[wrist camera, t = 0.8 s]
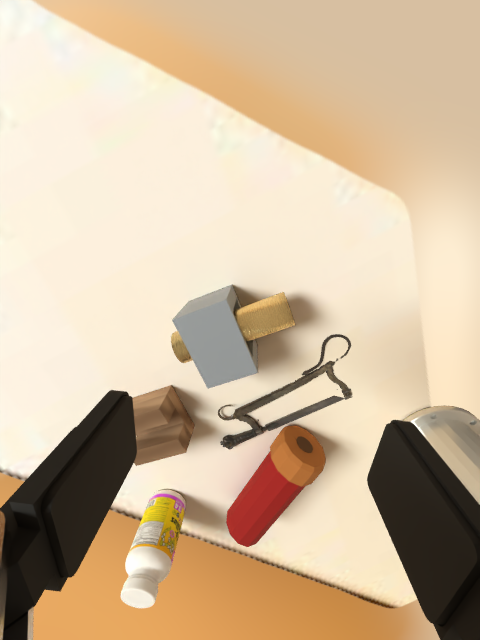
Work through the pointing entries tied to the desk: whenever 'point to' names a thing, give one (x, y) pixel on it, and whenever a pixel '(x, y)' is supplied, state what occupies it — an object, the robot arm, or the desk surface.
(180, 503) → the supplement bottle
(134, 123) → the desk surface
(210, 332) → the grey hollow block
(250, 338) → the axle
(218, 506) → the desk surface
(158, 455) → the v block
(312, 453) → the shell casing
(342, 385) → the hacksaw
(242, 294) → the desk surface
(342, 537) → the desk surface
